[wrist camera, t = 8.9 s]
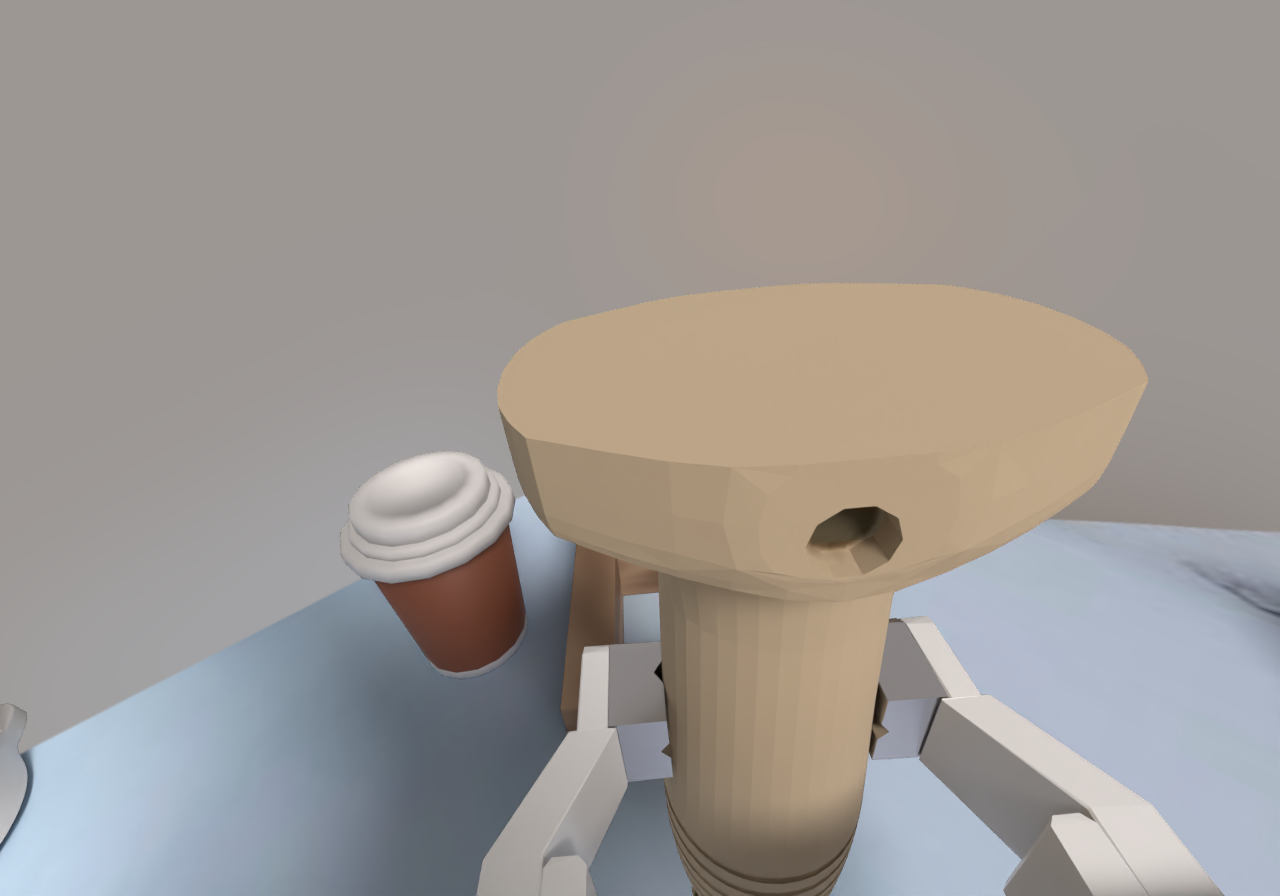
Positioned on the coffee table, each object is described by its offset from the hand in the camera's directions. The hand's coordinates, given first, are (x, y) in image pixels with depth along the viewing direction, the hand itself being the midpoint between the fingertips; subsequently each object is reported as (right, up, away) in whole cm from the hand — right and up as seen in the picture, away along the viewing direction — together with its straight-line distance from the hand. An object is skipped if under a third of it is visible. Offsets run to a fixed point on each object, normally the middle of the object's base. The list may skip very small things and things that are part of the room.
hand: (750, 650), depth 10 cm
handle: (+1, -8, +4) cm, 9 cm away
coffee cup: (-13, -8, +23) cm, 28 cm away
